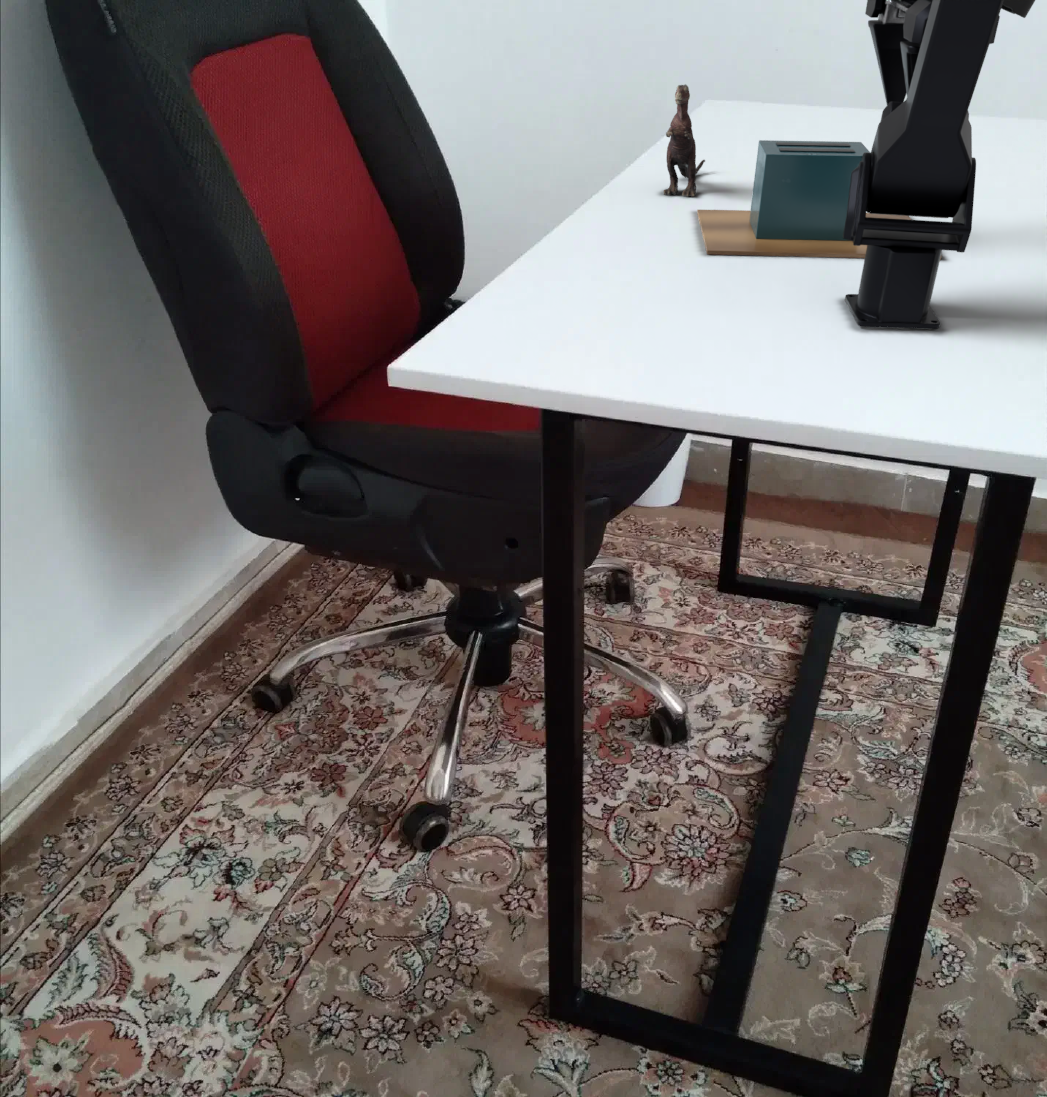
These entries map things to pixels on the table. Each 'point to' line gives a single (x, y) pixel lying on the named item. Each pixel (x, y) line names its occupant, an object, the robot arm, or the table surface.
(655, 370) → the table surface
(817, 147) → the toaster
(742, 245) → the mat
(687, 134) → the dinosaur model
